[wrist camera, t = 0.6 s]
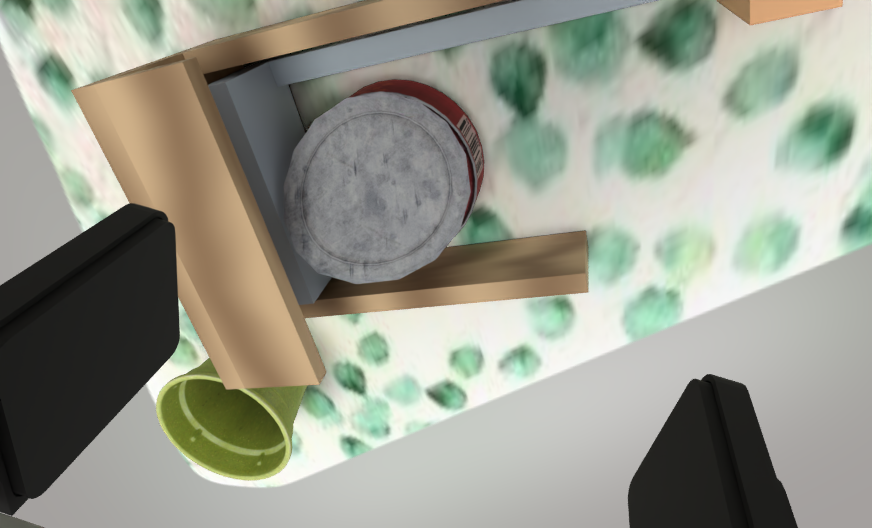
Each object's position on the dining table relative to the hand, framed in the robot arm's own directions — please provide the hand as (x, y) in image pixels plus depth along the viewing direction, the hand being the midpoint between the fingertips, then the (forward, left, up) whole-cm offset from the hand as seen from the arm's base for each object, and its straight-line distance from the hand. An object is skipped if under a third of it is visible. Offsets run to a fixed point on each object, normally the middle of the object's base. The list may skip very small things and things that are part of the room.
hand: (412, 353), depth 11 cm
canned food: (+8, +4, -25) cm, 27 cm away
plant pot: (+22, +18, -25) cm, 38 cm away
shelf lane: (+7, +4, -25) cm, 26 cm away
